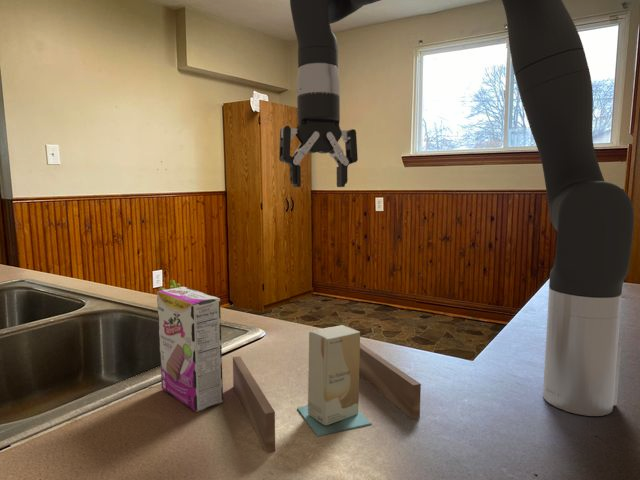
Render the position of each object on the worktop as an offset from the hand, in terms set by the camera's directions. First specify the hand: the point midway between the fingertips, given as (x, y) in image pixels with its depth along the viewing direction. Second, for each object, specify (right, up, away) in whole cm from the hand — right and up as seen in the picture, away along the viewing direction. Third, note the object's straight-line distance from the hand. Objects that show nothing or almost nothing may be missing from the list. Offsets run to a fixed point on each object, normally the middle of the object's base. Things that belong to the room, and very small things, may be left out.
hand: (319, 187), depth 81 cm
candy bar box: (-20, -34, -11) cm, 41 cm away
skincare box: (+2, -35, -17) cm, 39 cm away
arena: (0, -34, -13) cm, 36 cm away
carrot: (-28, -32, +5) cm, 43 cm away
